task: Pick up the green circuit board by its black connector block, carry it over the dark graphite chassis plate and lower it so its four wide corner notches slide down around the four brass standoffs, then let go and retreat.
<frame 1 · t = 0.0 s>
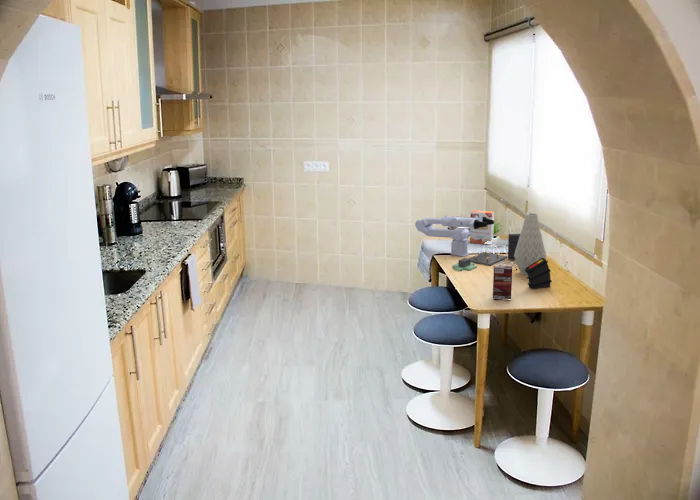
hand: (490, 223, 356), 22 cm above the table, tool horizontal, fingers open, 7 cm apart
vase: (529, 273, 334), on the table
chassis plate: (486, 259, 362), on the table
magazine: (537, 288, 311), on the table
cracker box: (481, 243, 398), on the table
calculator: (517, 259, 361), on the table
supplement box: (501, 299, 298), on the table
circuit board: (464, 267, 349), on the table
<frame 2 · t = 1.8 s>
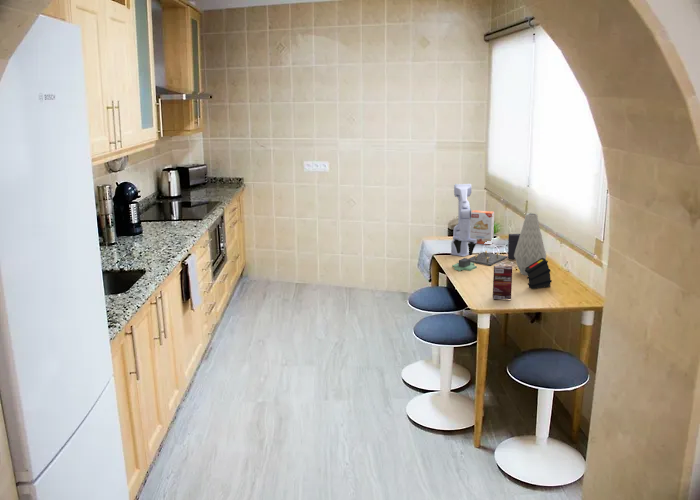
hand: (464, 253, 346), 8 cm above the table, tool pointing down, fingers open, 7 cm apart
nothing on the table moved.
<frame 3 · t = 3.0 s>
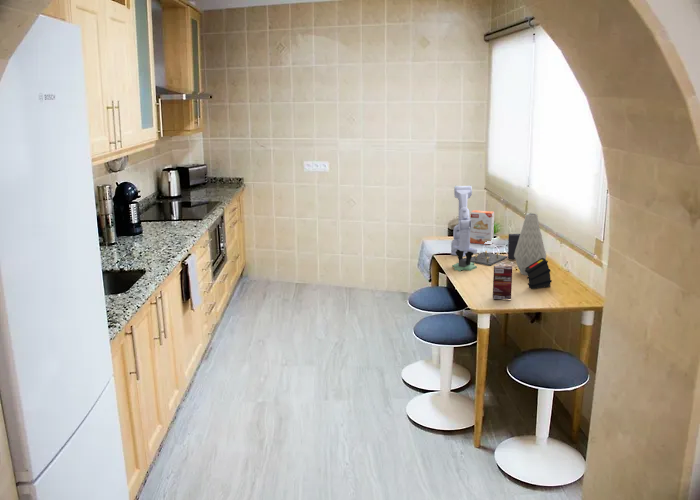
hand: (464, 263, 348), 2 cm above the table, tool pointing down, fingers closed on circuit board, 4 cm apart
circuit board: (464, 267, 349), on the table, touching gripper
everything else where it was.
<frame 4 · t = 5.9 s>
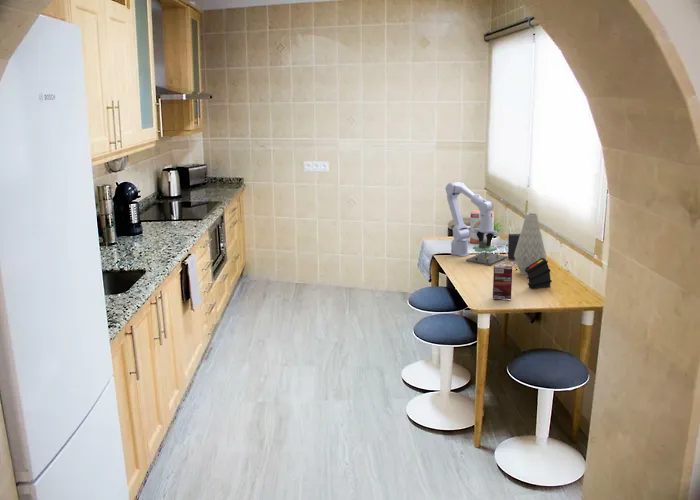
hand: (485, 245, 358), 9 cm above the table, tool pointing down, fingers closed on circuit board, 4 cm apart
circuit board: (484, 249, 359), point 7 cm above the table, touching gripper
everything else where it was.
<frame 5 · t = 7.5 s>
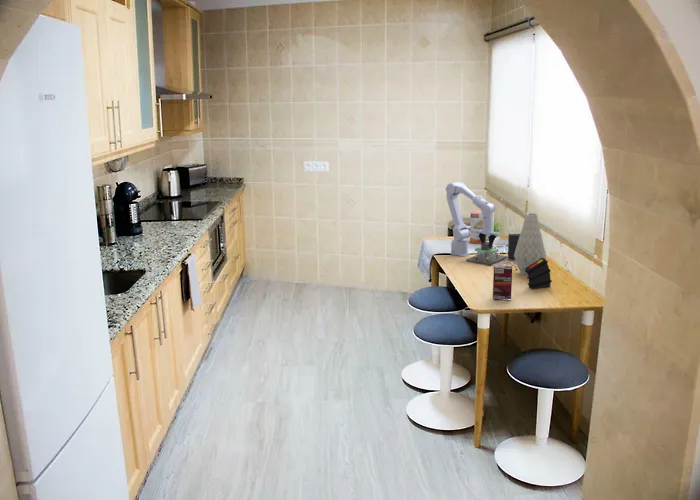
hand: (487, 246, 360), 8 cm above the table, tool pointing down, fingers closed on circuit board, 4 cm apart
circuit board: (486, 250, 360), point 5 cm above the table, touching gripper
everything else where it was.
when the fingers open (4 cm above the table, at t = 9.0 s): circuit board stays where it is, resting on chassis plate.
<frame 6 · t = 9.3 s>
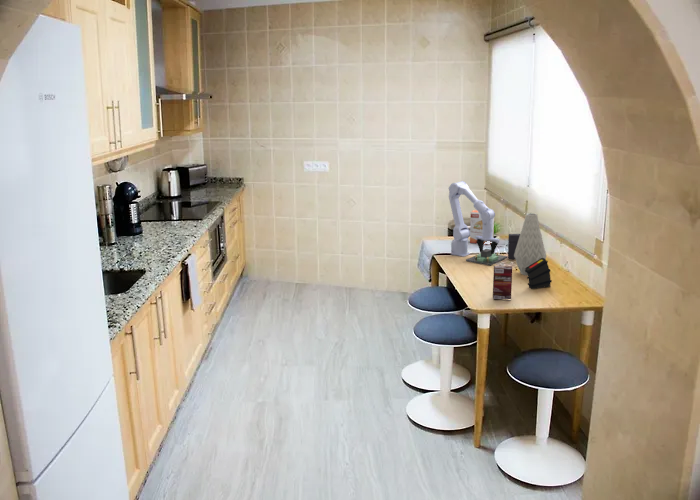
hand: (486, 253, 361), 4 cm above the table, tool pointing down, fingers open, 7 cm apart
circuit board: (486, 258, 362), point 1 cm above the table, touching chassis plate
everything else where it was.
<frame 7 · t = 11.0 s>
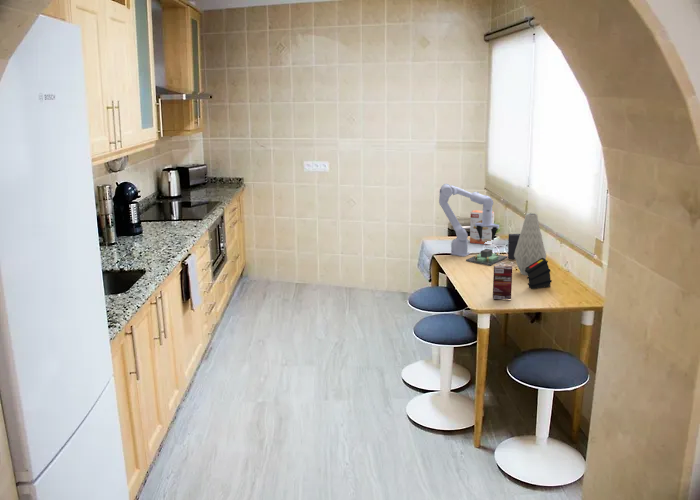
hand: (486, 238, 371), 9 cm above the table, tool pointing down, fingers open, 7 cm apart
nothing on the table moved.
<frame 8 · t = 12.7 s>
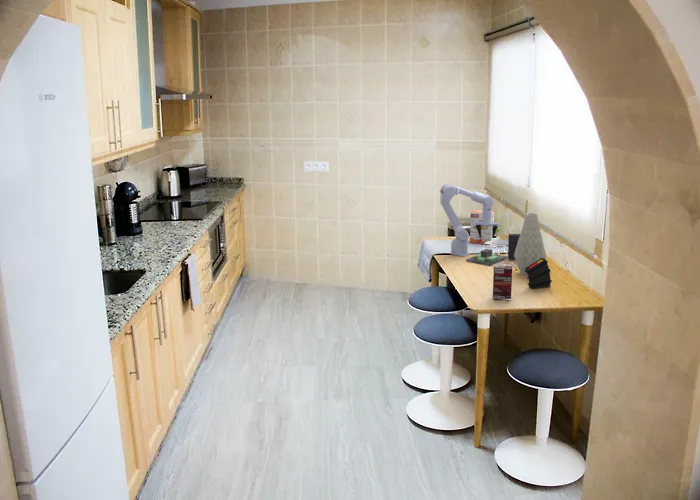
hand: (486, 237, 374), 9 cm above the table, tool pointing down, fingers open, 7 cm apart
nothing on the table moved.
at the end: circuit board 0.4 cm off-centre on the chassis plate, point 1.0 cm above the chassis plate's base; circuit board tilted 0°; the gripper is holding nothing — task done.
